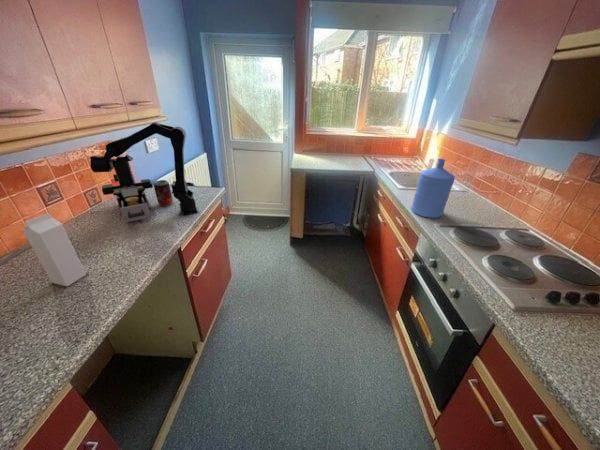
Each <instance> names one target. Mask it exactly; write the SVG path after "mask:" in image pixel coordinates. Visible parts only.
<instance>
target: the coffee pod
mask: <svg viewBox="0 0 600 450" xmlns="http://www.w3.org/2000/svg"><path fill="white" fill-rule="evenodd" d="M138 199H139V198H138V197H130V198H127V199H126V200H125V201H126V202H127V203H128V206H133V205H139V201H138Z"/></svg>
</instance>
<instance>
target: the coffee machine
mask: <svg viewBox="0 0 600 450" xmlns="http://www.w3.org/2000/svg"><path fill="white" fill-rule="evenodd" d="M121 192H122V194H123V196H124V198H125V199H126V198H130V197H138V192H137V187H135V188H129V189H122V190H121ZM146 195H147V194H146V192H145V191H143V193H142V196H143V199H144V201H145V203H147V205H148V208H149V211H150V206H149V202H148V199H147V196H146ZM115 197H116V201H117V204H118V207H119V209H120V208H122V205H121V199H120V198H119V197H118V196H117V195H115Z"/></svg>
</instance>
